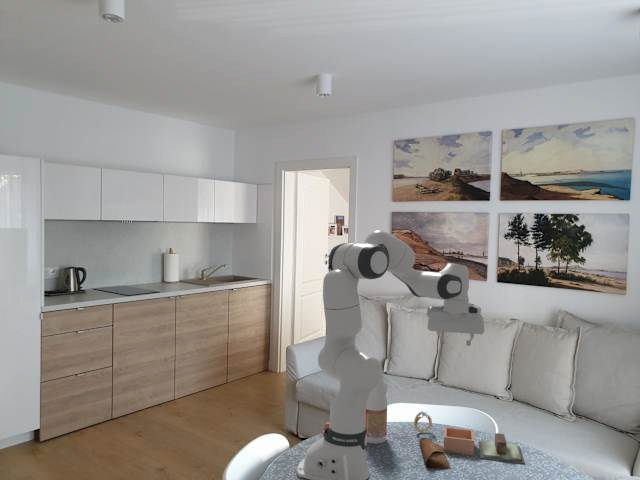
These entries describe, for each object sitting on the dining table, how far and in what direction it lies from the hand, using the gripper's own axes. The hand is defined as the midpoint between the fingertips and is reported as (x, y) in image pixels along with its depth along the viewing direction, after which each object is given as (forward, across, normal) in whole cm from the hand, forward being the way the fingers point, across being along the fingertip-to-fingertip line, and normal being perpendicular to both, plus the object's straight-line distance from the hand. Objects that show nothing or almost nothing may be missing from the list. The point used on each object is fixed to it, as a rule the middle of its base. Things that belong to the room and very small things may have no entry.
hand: (455, 344), depth 183 cm
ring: (+35, -11, +3) cm, 37 cm away
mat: (+35, +16, -7) cm, 39 cm away
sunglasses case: (+36, -6, -17) cm, 40 cm away
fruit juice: (+35, -28, -9) cm, 46 cm away
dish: (+35, +2, -7) cm, 36 cm away
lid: (+35, +16, -7) cm, 39 cm away
